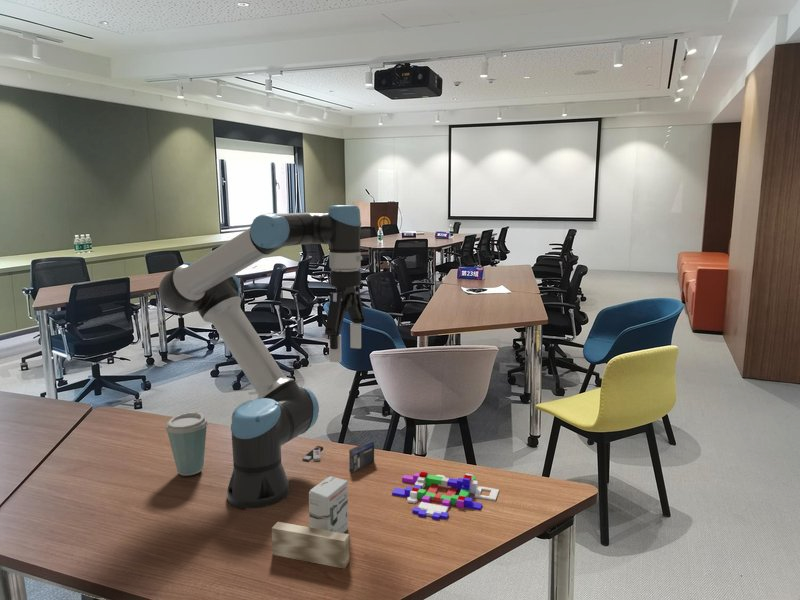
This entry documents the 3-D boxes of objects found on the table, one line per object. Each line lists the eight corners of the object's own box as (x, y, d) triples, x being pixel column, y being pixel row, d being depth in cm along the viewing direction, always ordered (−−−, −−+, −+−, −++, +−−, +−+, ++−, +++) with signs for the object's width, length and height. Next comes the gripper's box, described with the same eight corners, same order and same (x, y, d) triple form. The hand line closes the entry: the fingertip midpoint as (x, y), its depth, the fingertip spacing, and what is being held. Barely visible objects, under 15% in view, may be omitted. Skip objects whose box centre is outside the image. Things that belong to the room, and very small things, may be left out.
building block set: (381, 510, 136) (381, 493, 135) (409, 472, 155) (409, 457, 154) (485, 530, 128) (486, 512, 127) (500, 488, 147) (501, 471, 146)
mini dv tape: (353, 472, 154) (353, 451, 153) (349, 470, 155) (349, 450, 154) (374, 462, 160) (374, 442, 159) (370, 460, 161) (370, 440, 160)
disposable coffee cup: (192, 482, 147) (188, 427, 145) (159, 475, 151) (155, 422, 149) (218, 465, 157) (215, 413, 155) (186, 459, 161) (183, 408, 158)
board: (272, 554, 117) (271, 528, 116) (278, 547, 120) (277, 521, 119) (344, 568, 113) (344, 541, 112) (349, 561, 115) (349, 534, 114)
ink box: (327, 549, 119) (327, 497, 117) (308, 543, 122) (307, 491, 120) (349, 528, 127) (348, 479, 125) (330, 523, 129) (329, 474, 127)
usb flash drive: (316, 448, 169) (316, 445, 169) (332, 451, 167) (332, 448, 167) (301, 460, 161) (301, 457, 161) (318, 463, 159) (318, 460, 159)
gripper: (340, 276, 125) (341, 369, 128) (376, 264, 148) (376, 343, 152) (309, 274, 127) (311, 366, 130) (349, 263, 150) (350, 341, 154)
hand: (346, 354), depth 141 cm, fingers open, 13 cm apart
